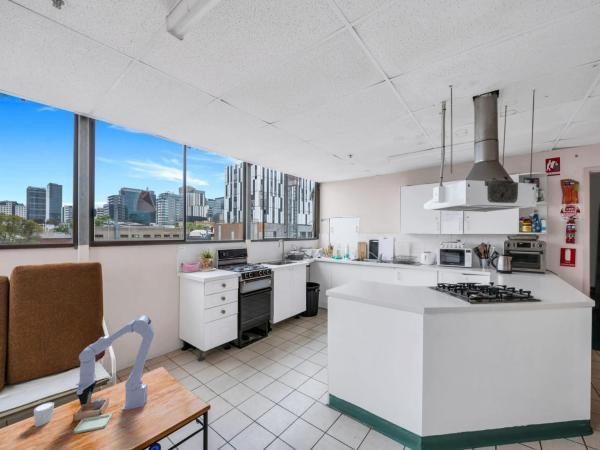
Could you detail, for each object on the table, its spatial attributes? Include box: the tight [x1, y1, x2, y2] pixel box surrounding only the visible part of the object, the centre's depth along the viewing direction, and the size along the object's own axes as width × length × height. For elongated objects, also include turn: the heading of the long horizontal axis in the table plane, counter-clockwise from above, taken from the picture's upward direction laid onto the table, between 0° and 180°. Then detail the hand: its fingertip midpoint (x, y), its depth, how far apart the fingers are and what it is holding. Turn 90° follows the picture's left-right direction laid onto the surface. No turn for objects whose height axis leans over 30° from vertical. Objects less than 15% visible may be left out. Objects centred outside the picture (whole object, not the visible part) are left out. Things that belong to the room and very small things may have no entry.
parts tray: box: [72, 412, 114, 435], centre depth 116 cm, size 12×9×1 cm
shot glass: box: [33, 401, 55, 427], centre depth 118 cm, size 7×7×7 cm
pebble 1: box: [79, 391, 93, 407], centre depth 123 cm, size 4×4×5 cm
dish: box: [72, 398, 110, 422], centre depth 124 cm, size 11×9×3 cm
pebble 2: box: [92, 397, 105, 410], centre depth 125 cm, size 4×4×5 cm
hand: (85, 401), depth 123 cm, fingers closed on pebble 1, 4 cm apart
